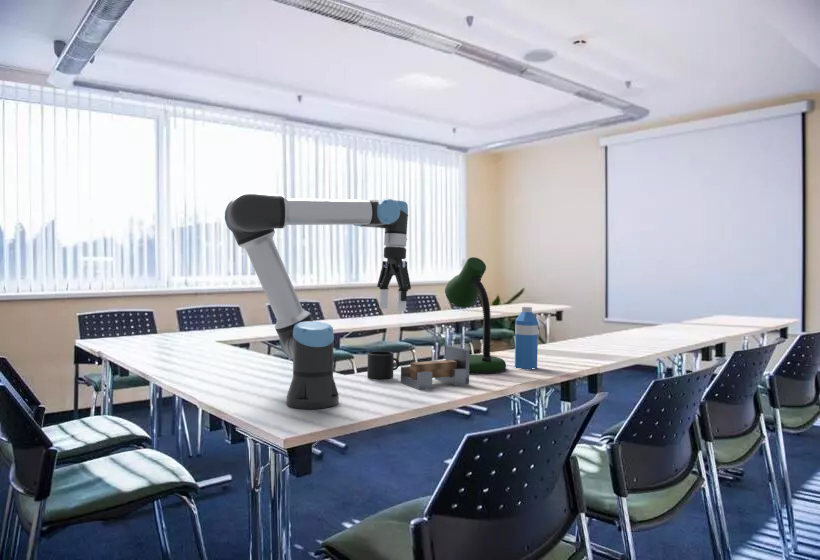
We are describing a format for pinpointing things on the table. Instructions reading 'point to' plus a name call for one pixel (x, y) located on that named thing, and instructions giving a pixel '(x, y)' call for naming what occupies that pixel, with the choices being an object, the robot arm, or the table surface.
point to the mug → (381, 365)
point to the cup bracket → (462, 371)
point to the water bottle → (526, 339)
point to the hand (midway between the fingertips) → (392, 309)
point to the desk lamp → (465, 295)
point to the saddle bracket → (420, 383)
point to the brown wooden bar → (433, 368)
